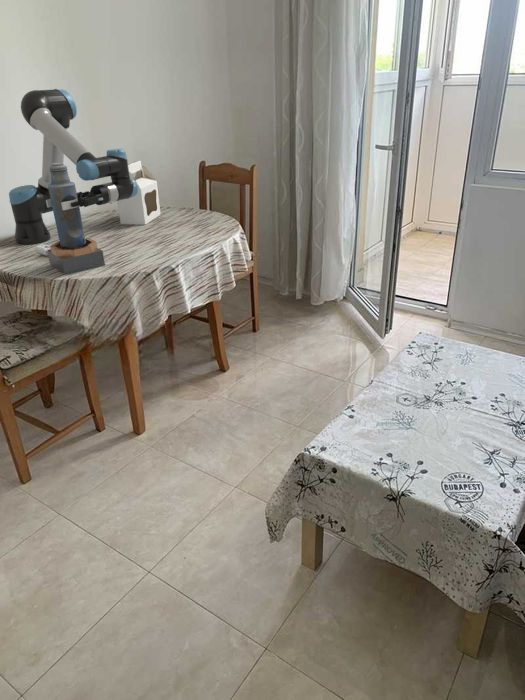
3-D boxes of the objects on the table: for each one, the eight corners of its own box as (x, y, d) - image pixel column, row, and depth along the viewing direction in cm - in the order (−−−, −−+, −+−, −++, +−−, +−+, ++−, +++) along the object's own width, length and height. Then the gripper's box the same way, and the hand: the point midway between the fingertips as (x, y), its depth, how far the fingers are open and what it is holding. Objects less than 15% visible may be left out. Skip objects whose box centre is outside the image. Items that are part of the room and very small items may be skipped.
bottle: (66, 249, 198) (49, 166, 184) (56, 244, 205) (39, 163, 191) (90, 244, 204) (75, 163, 190) (80, 239, 210) (65, 160, 196)
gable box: (137, 214, 284) (130, 159, 271) (160, 214, 281) (154, 159, 268) (120, 224, 264) (111, 166, 251) (145, 225, 262) (137, 166, 249)
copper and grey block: (50, 264, 210) (45, 243, 206) (88, 256, 218) (85, 236, 214) (65, 274, 198) (60, 252, 194) (105, 265, 207) (101, 244, 203)
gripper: (123, 206, 206) (74, 218, 190) (88, 200, 217) (39, 212, 201) (120, 186, 202) (70, 197, 186) (85, 182, 214) (35, 192, 198)
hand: (54, 205), depth 194 cm, fingers closed on bottle, 9 cm apart
